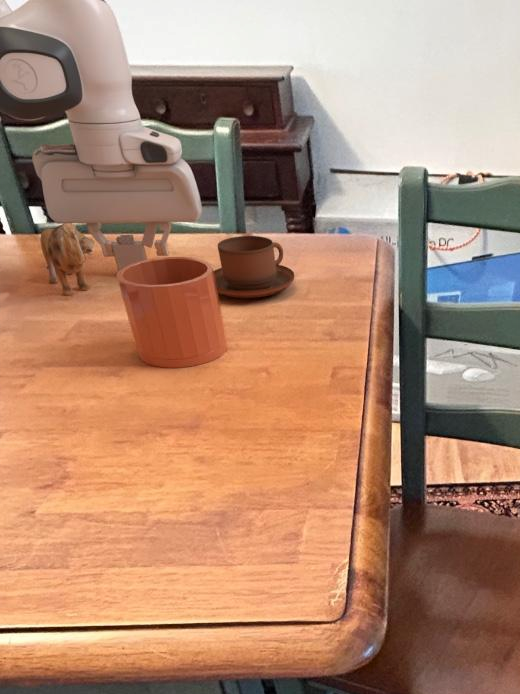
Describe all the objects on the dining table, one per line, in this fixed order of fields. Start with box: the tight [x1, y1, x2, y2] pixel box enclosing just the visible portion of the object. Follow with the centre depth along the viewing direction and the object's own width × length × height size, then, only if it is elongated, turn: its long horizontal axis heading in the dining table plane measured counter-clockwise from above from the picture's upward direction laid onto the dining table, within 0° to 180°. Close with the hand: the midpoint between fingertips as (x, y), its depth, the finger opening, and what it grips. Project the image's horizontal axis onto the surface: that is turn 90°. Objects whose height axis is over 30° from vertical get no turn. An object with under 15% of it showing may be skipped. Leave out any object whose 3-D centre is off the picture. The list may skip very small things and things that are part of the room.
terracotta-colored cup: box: [116, 256, 228, 369], centre depth 85 cm, size 10×10×9 cm
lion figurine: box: [39, 223, 95, 296], centre depth 101 cm, size 15×5×9 cm, turn 45°
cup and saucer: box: [214, 235, 295, 299], centre depth 101 cm, size 12×12×6 cm
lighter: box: [112, 222, 158, 273], centre depth 105 cm, size 7×2×8 cm, turn 100°
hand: (137, 255), depth 106 cm, fingers closed on lighter, 6 cm apart
